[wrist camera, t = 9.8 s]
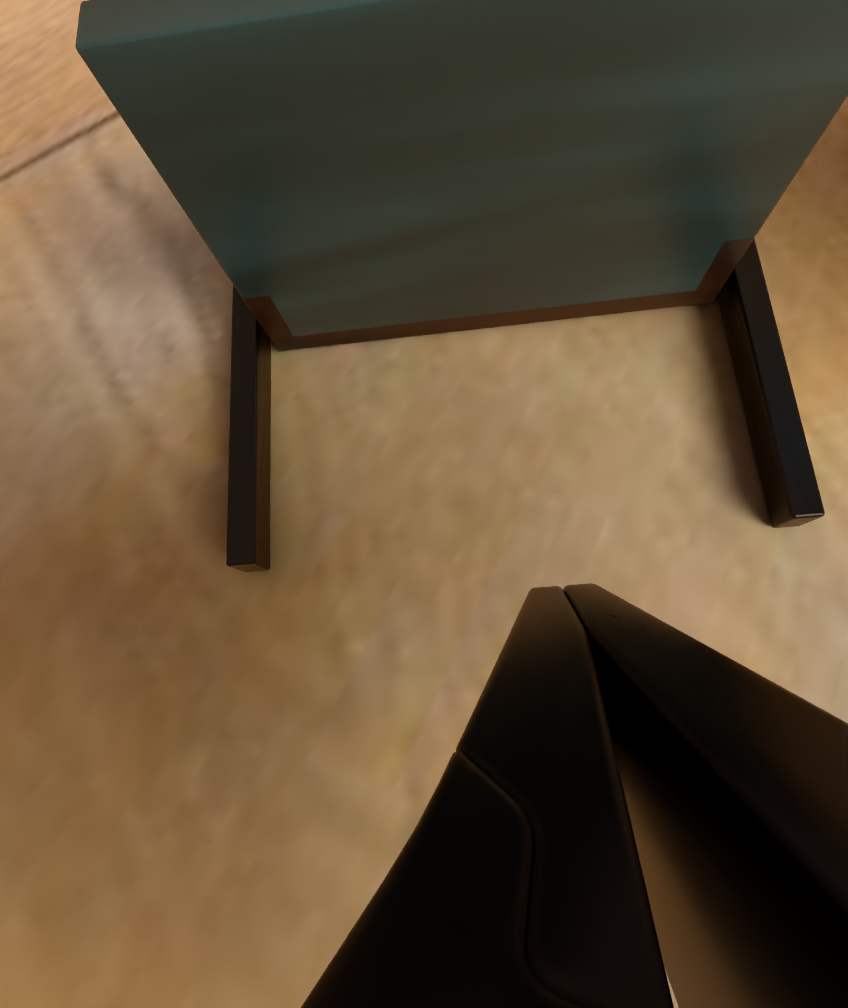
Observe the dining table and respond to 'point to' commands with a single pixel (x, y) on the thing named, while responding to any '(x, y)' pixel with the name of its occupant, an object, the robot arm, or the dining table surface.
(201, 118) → the tray
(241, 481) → the frame
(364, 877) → the dining table surface
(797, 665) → the dining table surface
